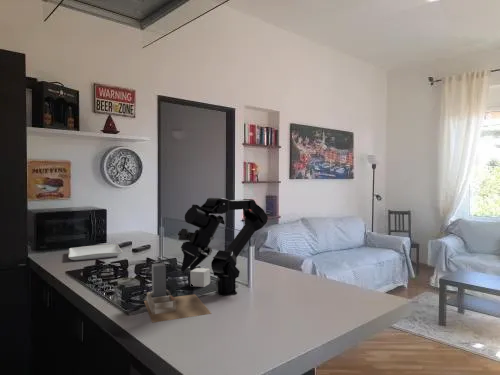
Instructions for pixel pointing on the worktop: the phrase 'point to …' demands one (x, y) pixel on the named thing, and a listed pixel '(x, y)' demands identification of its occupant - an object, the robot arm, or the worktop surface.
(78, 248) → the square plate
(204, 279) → the white cube
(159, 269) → the tall gray block
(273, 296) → the worktop surface
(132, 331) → the worktop surface
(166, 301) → the cord organiser
